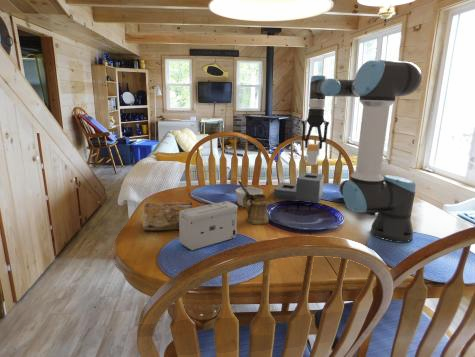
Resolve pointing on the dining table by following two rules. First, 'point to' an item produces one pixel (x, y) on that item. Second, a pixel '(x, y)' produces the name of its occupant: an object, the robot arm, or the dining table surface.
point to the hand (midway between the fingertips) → (312, 154)
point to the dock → (301, 188)
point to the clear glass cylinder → (312, 154)
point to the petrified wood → (163, 215)
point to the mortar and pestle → (255, 207)
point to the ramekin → (241, 193)
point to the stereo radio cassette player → (207, 224)
